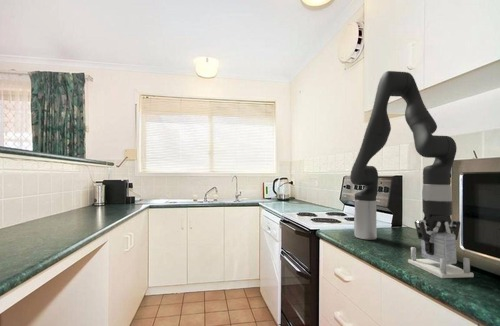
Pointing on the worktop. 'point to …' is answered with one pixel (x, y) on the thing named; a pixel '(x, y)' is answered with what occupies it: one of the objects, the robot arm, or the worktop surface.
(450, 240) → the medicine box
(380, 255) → the worktop surface
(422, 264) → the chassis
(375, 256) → the worktop surface
